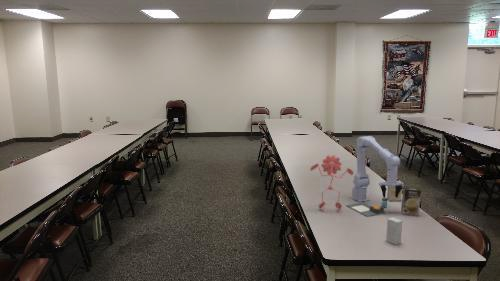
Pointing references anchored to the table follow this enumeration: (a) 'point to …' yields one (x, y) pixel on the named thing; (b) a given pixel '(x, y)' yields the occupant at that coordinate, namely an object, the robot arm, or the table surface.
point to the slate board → (366, 209)
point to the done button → (376, 207)
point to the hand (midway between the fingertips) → (390, 197)
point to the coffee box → (410, 201)
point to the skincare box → (394, 230)
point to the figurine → (331, 167)
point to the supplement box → (393, 194)
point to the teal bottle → (384, 202)
